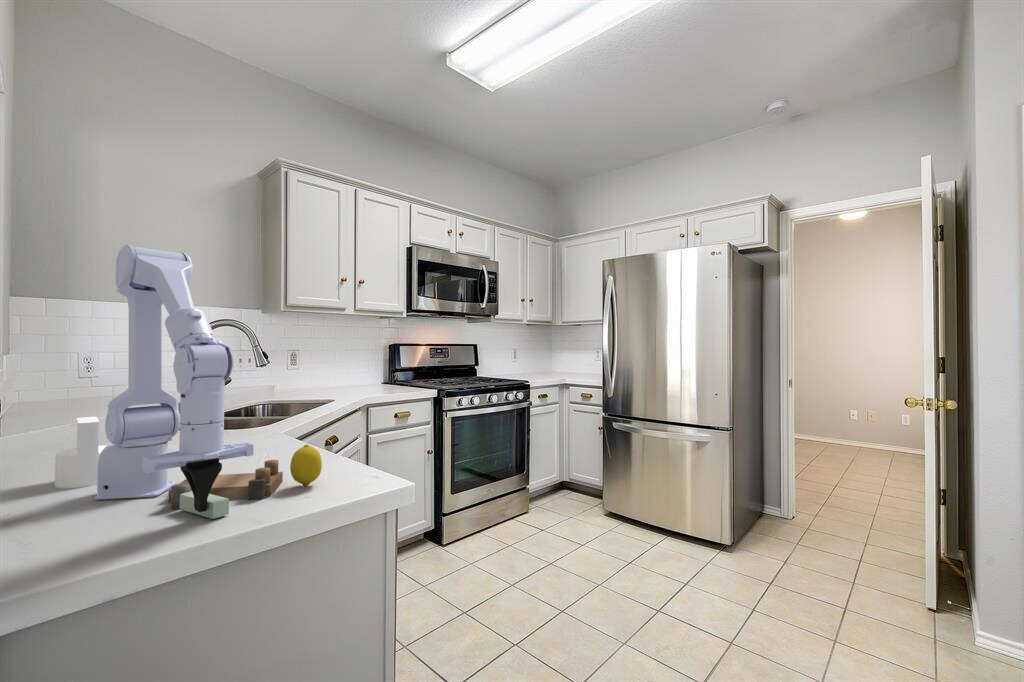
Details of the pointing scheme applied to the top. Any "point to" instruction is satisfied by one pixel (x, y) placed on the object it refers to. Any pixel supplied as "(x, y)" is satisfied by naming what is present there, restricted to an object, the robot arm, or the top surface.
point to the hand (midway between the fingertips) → (200, 510)
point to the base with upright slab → (80, 457)
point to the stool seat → (237, 485)
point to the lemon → (306, 465)
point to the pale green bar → (214, 505)
